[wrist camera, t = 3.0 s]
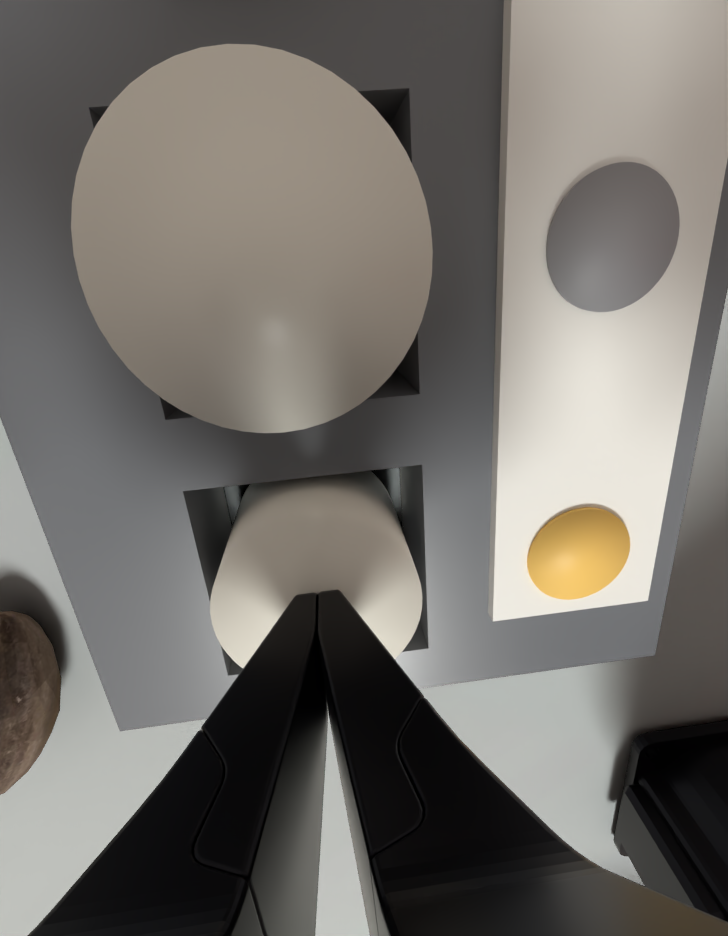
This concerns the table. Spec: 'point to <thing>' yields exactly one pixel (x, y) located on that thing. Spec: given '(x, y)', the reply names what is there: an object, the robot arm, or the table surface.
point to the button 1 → (315, 559)
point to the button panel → (296, 452)
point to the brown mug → (25, 694)
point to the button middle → (251, 238)
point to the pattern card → (598, 286)
